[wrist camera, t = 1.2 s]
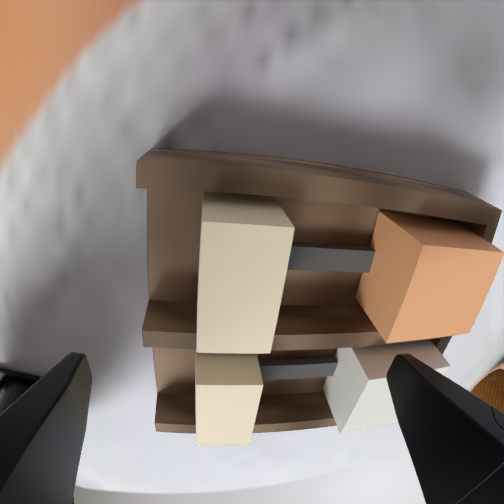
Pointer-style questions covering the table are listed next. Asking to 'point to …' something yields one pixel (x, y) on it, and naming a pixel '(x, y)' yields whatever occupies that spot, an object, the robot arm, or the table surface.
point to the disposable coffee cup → (492, 389)
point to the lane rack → (296, 282)
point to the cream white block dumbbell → (335, 368)
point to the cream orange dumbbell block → (338, 260)
